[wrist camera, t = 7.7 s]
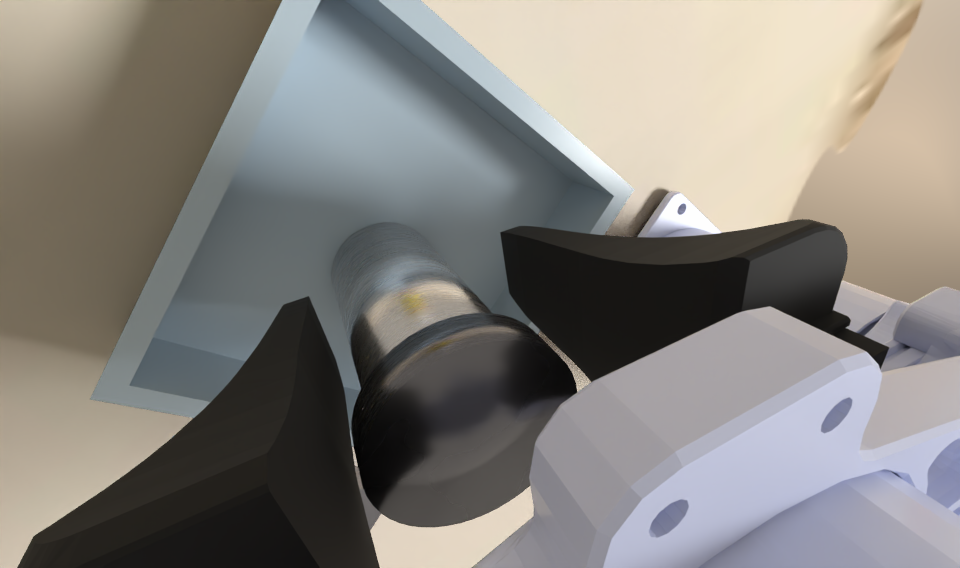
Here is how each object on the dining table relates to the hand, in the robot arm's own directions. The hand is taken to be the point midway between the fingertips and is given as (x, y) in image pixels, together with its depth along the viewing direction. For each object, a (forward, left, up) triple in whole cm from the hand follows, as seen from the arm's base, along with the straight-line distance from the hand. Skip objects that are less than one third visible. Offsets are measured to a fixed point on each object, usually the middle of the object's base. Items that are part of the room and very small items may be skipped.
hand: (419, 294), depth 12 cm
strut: (0, +1, -4) cm, 4 cm away
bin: (0, 0, -4) cm, 4 cm away
